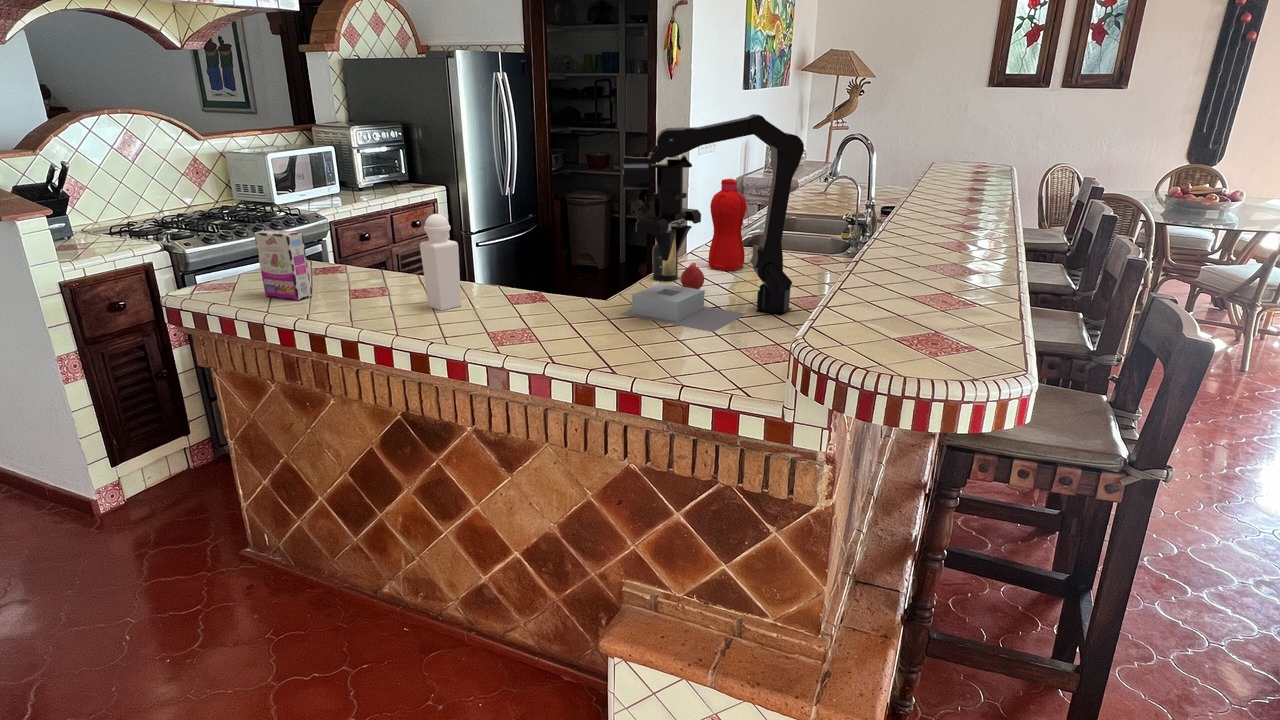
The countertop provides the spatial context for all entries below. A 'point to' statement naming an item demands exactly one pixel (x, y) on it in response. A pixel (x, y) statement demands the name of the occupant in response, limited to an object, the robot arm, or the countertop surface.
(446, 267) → the square decanter bottle
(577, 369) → the countertop surface
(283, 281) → the candy bar box
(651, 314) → the socket block
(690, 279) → the onion
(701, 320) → the rubber mat
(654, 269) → the supplement bottle
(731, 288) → the countertop surface
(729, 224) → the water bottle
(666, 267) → the brass pin
